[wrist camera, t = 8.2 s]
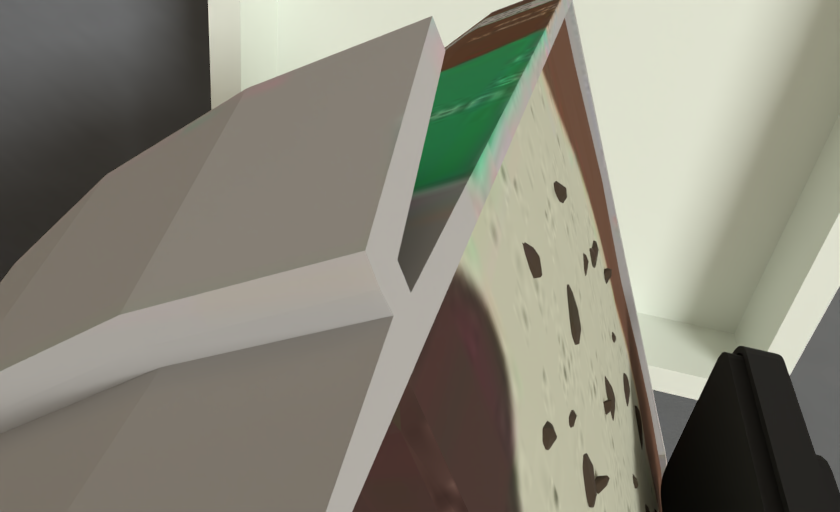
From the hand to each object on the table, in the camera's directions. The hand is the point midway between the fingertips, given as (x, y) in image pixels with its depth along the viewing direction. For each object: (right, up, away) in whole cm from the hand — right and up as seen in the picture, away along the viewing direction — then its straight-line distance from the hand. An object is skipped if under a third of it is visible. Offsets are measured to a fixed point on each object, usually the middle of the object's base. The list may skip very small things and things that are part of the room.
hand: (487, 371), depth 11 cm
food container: (0, +1, +2) cm, 3 cm away
